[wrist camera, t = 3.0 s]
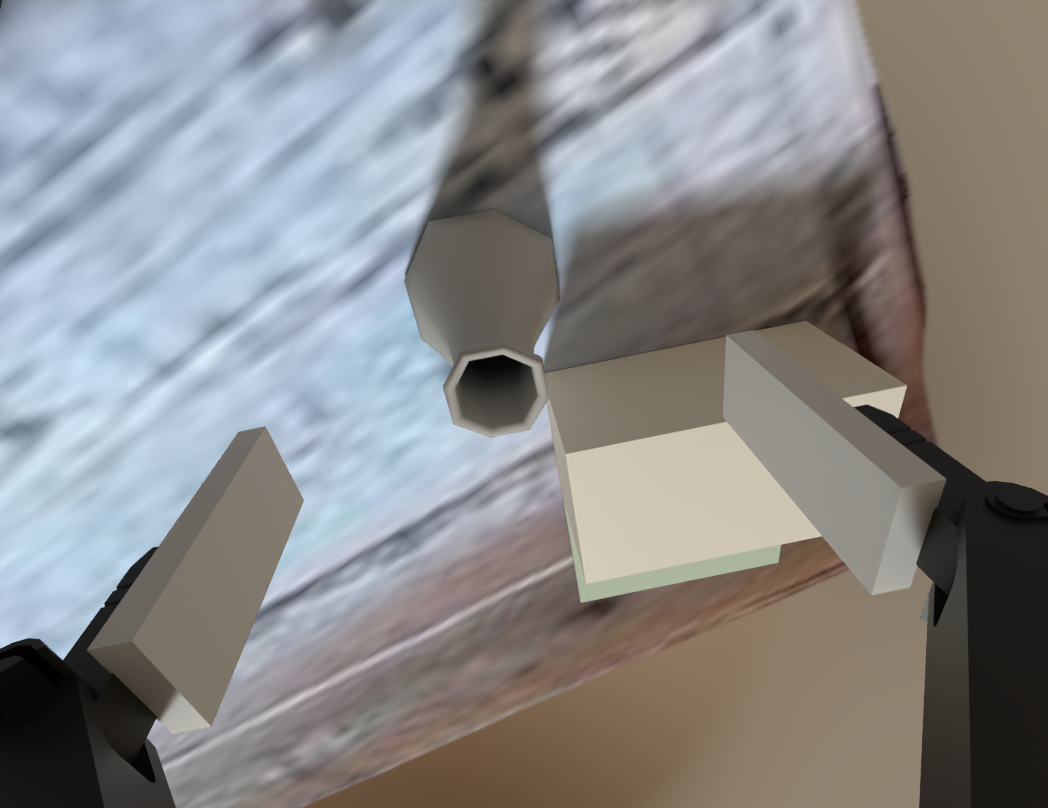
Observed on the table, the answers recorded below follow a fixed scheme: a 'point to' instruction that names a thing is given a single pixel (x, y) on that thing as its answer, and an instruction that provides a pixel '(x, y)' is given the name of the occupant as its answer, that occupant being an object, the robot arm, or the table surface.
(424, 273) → the flask
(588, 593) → the mat
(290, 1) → the table surface
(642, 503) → the block
